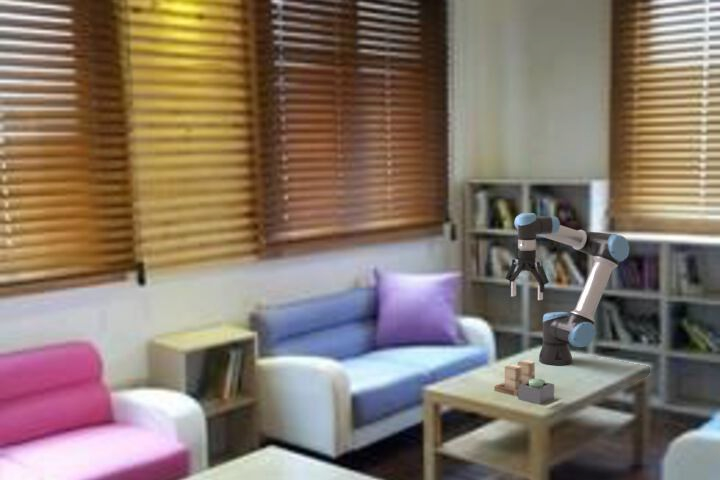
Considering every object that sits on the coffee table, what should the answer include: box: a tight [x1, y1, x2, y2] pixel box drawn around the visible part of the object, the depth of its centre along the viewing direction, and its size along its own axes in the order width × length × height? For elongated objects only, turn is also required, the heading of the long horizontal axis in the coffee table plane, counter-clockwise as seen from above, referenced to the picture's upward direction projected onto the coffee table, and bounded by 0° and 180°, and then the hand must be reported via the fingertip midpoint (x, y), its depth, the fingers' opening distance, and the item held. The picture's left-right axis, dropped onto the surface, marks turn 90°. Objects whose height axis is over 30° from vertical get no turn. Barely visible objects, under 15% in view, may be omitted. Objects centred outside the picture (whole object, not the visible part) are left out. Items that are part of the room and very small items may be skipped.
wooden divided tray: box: [493, 379, 545, 397], centre depth 341 cm, size 20×11×3 cm, turn 135°
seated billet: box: [504, 364, 522, 390], centre depth 338 cm, size 5×5×10 cm
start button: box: [529, 378, 543, 388], centre depth 326 cm, size 6×6×3 cm
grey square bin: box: [517, 381, 555, 406], centre depth 326 cm, size 10×10×7 cm
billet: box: [517, 359, 536, 383], centre depth 344 cm, size 5×5×10 cm
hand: (526, 298), depth 359 cm, fingers open, 13 cm apart
